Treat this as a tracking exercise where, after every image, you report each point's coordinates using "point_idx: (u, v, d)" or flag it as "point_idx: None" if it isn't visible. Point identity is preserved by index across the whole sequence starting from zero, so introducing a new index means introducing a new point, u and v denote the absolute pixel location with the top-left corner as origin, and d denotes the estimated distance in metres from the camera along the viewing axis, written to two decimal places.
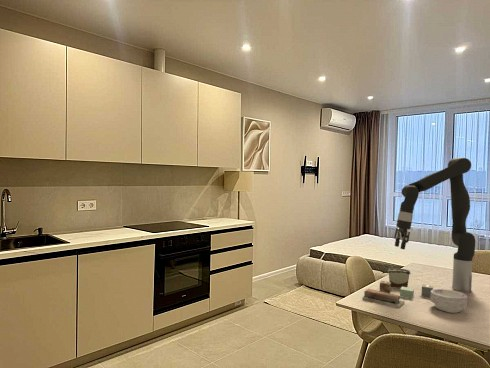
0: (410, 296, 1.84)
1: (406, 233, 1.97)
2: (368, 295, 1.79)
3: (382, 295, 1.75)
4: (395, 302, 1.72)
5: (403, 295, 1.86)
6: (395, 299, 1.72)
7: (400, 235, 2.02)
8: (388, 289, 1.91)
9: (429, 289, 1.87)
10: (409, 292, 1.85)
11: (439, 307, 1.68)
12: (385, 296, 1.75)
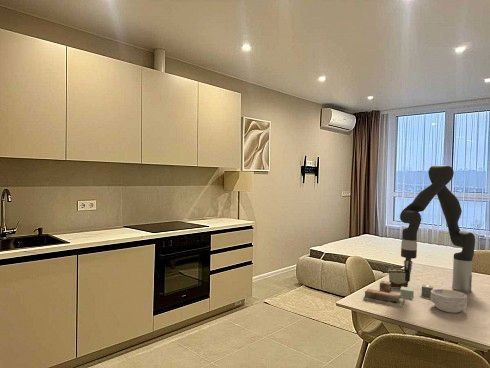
0: (410, 296, 1.84)
1: (405, 267, 1.83)
2: (369, 295, 1.79)
3: (383, 295, 1.76)
4: (396, 302, 1.72)
5: (403, 295, 1.86)
6: (396, 299, 1.72)
7: (404, 265, 1.88)
8: (388, 289, 1.91)
9: (429, 289, 1.87)
10: (409, 292, 1.85)
11: (439, 307, 1.68)
12: (386, 296, 1.75)
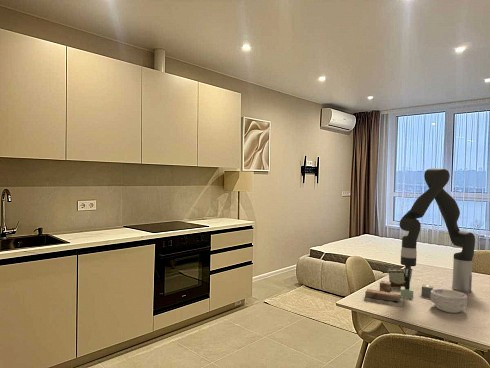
0: (410, 296, 1.84)
1: (405, 275, 1.83)
2: (369, 295, 1.79)
3: (384, 295, 1.76)
4: (397, 301, 1.73)
5: (403, 295, 1.86)
6: (397, 298, 1.73)
7: (404, 273, 1.88)
8: (388, 289, 1.91)
9: (429, 289, 1.87)
10: (409, 292, 1.85)
11: (439, 307, 1.68)
12: (387, 296, 1.75)
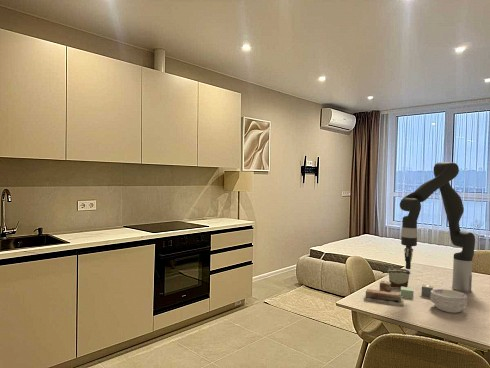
0: (411, 296, 1.84)
1: (406, 255, 1.83)
2: (370, 296, 1.79)
3: (384, 295, 1.76)
4: (398, 301, 1.74)
5: (404, 295, 1.86)
6: (398, 298, 1.74)
7: None
8: (388, 289, 1.91)
9: (429, 289, 1.87)
10: (410, 292, 1.85)
11: (439, 307, 1.68)
12: (388, 295, 1.76)
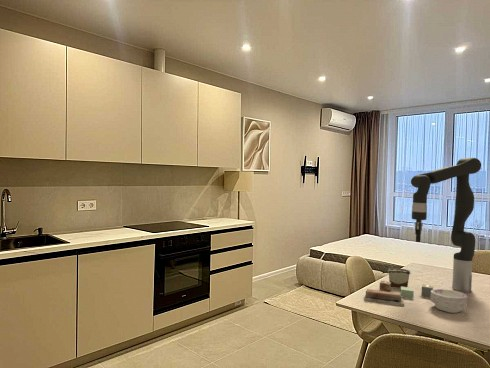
0: (411, 296, 1.84)
1: (416, 228, 1.94)
2: (370, 296, 1.79)
3: (385, 294, 1.76)
4: (398, 300, 1.74)
5: (404, 295, 1.86)
6: (398, 297, 1.74)
7: None
8: (388, 289, 1.91)
9: (429, 289, 1.87)
10: (410, 292, 1.85)
11: (439, 307, 1.68)
12: (388, 295, 1.76)
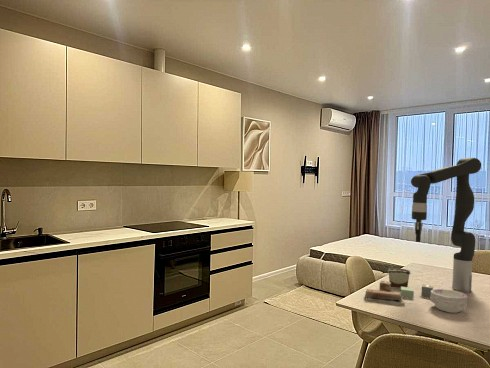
0: (411, 296, 1.84)
1: (416, 228, 1.94)
2: (371, 296, 1.79)
3: (385, 294, 1.77)
4: (399, 300, 1.75)
5: (404, 295, 1.86)
6: (398, 297, 1.75)
7: None
8: (388, 289, 1.91)
9: (429, 289, 1.87)
10: (410, 292, 1.85)
11: (439, 307, 1.68)
12: (388, 295, 1.76)
